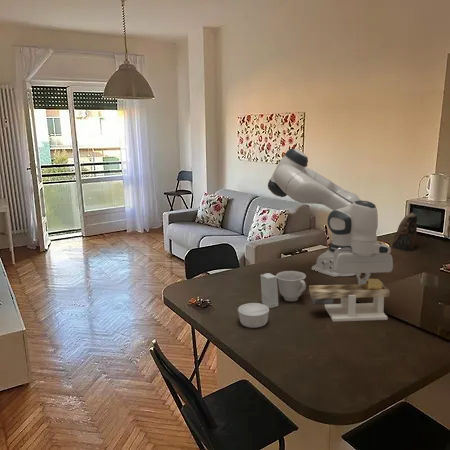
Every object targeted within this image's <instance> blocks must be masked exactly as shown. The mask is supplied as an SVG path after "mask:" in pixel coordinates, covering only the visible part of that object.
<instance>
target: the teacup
mask: <svg viewBox="0 0 450 450" xmlns="http://www.w3.org/2000/svg"><path fill="white" fill-rule="evenodd" d="M275 276H276V277H277V284H278V291H279V293H280V294H281V296H282V297H283V299H284V301H285V302H286V301H287V302H296V301H298V300H299V297H301V295H302V294H303V292H304V291H305V290H306V288H307V284H306V282H305V279H306V278H307V274H306V273H304V272H301V271H298V270H283V271H279V272H278V273H276V274H275Z"/></svg>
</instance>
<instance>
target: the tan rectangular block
mask: <svg viewBox="0 0 450 450" xmlns="http://www.w3.org/2000/svg"><path fill="white" fill-rule="evenodd" d="M382 284H383V285H384V283H383V282H382V281H381V280H380V279H379V278H370V277H369V278H368V280H367V284H365V285H364V288H365V289H366V290H379V289H382Z"/></svg>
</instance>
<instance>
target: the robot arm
mask: <svg viewBox="0 0 450 450" xmlns="http://www.w3.org/2000/svg"><path fill="white" fill-rule="evenodd" d="M308 162H309V159H308V156H307V155H306V153H304V152H303V151H302V150H300V149H298V148H289V149H288V150H287V151H286V152H285V154H284V155H283V157H282V158H281V159H280V161H279V162H278V164H277V166H276V167H275V169H274V171H273V173H272V175H271V177H270V179H269V180H268V182H267V189H268V190H269V191H270V192H271V194H273V195H274V196H276V197H280V198H285V197H287V196H288V197H289V198H291V199H292V200H294V201H295V202H297V203H300V204H308V205H309V204H311V205H313V204H315V205H323V206H325V207H326V208H329V209H330V210H332V211H331V212H330V213H329V214H328V216H327V219H326V220H327V227H328V229H329V230H330V232H331V242H329V243H328V244H327V245H326V248H328V249H327V250H326V251H325V252H323V253H321V254H320V255H318V257H317V259H316V264H314V265H312V267H311V270H312V271H314V270H315V272H317V271H318V273H320V274H324V275H327V276H330V277H332V278H333V277H337V278H338V277H353V276H356V278H357V284H359V285H365V284H367V280H368V278H369V279H370V277H371V274H376V273H392V271H393V269H394V263H393V259H394V258H393V256H392V255H391V252H392V249H391V248H392V247H390V246H389V245H387V244H386V243H384V242H380V241H378V237H377V231H378V226H379V225H378V224H379V223H378V222H379V220H378V217H379V216H378V208H377V206H376V204H375V203H374V202H372V201H368V200H361V199H360V197H359V196H358V195H357V194H356V193H353V192H350V191H349V190H347V189H344V188H342V187H341V186H339V185H338V184H336V183H334V182H333V181H331V180H330V179H328V178H326V177H325V176H323V175H322V174H320V173H318V172H317V171H314V170H313V169H311V168H308ZM361 274H365V275H364V276H363V278H361V277H360V276H361Z"/></svg>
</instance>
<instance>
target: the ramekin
mask: <svg viewBox="0 0 450 450" xmlns="http://www.w3.org/2000/svg"><path fill="white" fill-rule="evenodd" d="M237 313H238V317H239V322H240V324H241V325H242V326H244V327H245V328H249V329H250V328H251V329H255V328H258V329H259V328H261V327H263V326H266V324H267V323H268V320H269V313H270V308H269V307H268V306H266V305H264V304H263V303H259V302H248V303H244V304H240V305H239V307H237Z"/></svg>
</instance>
